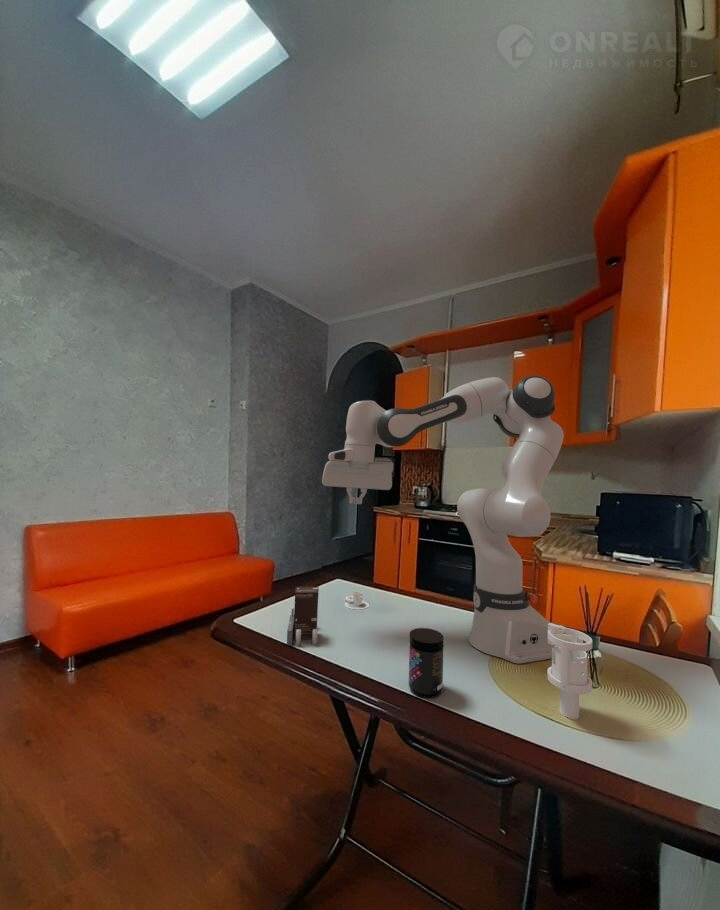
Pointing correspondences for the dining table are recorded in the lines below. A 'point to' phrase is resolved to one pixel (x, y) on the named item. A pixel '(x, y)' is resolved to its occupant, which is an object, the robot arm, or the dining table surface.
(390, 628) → the dining table surface
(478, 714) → the dining table surface
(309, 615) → the box
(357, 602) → the teacup and saucer
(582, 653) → the white plastic upright piece
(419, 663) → the supplement container
